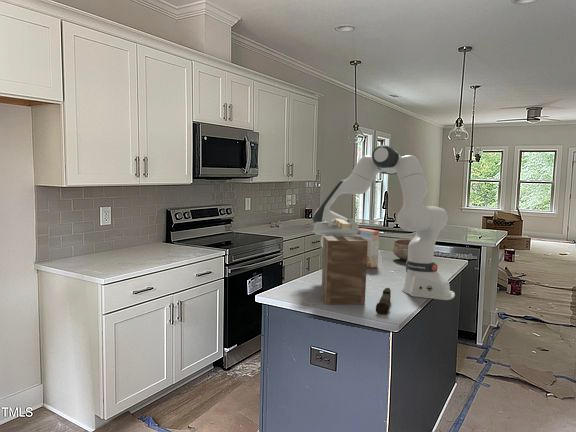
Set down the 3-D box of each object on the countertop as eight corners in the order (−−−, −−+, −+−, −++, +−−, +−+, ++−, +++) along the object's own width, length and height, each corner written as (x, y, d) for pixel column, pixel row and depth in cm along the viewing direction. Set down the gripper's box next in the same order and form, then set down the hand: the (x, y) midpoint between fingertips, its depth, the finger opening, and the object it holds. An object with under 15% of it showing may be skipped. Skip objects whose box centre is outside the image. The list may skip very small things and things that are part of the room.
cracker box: (378, 267, 252) (380, 230, 250) (370, 268, 248) (372, 231, 246) (361, 262, 263) (363, 227, 261) (353, 263, 260) (355, 228, 258)
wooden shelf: (321, 295, 191) (323, 236, 189) (357, 295, 193) (360, 236, 190) (325, 304, 179) (328, 240, 177) (364, 304, 181) (367, 241, 178)
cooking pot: (395, 255, 289) (396, 237, 288) (426, 258, 281) (427, 239, 280) (388, 262, 266) (389, 242, 265) (420, 265, 259) (422, 245, 257)
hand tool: (388, 316, 167) (388, 301, 167) (375, 314, 169) (376, 299, 168) (395, 300, 188) (396, 287, 188) (384, 298, 190) (384, 286, 190)
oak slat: (333, 223, 200) (333, 218, 200) (340, 223, 200) (340, 218, 200) (342, 229, 180) (342, 223, 180) (350, 229, 181) (350, 224, 180)
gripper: (311, 226, 209) (315, 214, 196) (353, 227, 211) (360, 215, 198) (311, 239, 206) (316, 227, 194) (355, 239, 208) (362, 228, 196)
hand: (339, 221), depth 196 cm, fingers closed on oak slat, 3 cm apart
